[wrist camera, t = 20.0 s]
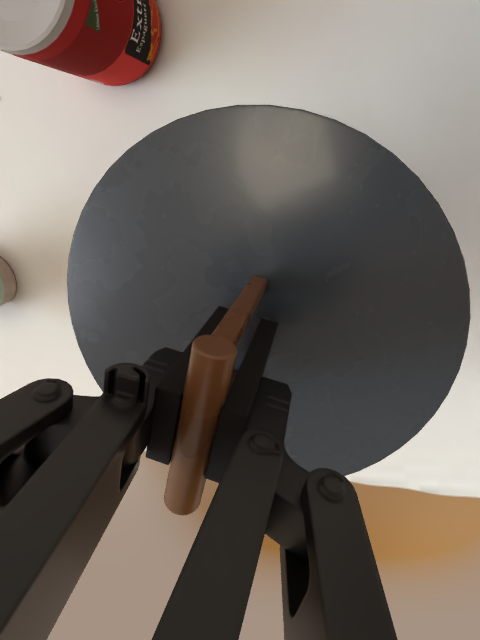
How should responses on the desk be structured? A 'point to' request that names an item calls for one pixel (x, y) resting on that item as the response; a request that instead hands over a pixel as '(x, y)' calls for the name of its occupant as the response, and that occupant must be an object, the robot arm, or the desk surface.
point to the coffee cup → (6, 283)
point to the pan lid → (274, 281)
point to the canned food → (84, 36)
